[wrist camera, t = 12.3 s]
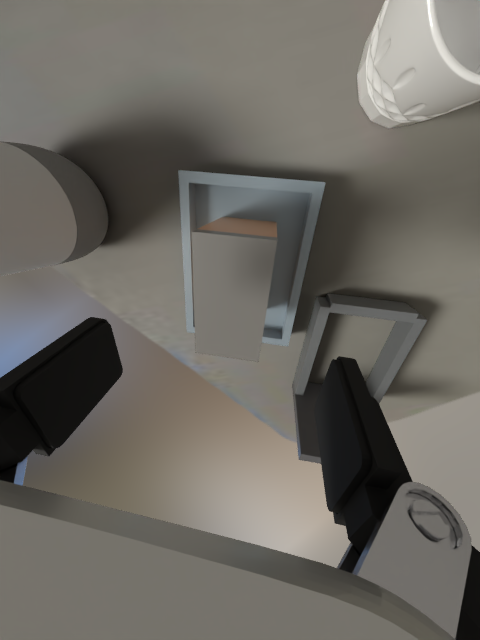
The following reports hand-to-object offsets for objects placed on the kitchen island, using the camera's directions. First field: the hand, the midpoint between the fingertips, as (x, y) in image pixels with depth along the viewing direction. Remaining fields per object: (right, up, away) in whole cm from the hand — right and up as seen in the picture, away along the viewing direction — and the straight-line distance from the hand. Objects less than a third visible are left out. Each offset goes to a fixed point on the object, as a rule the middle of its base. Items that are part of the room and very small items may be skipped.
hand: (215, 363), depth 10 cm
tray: (+2, +8, +14) cm, 16 cm away
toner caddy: (+2, +7, +13) cm, 15 cm away
